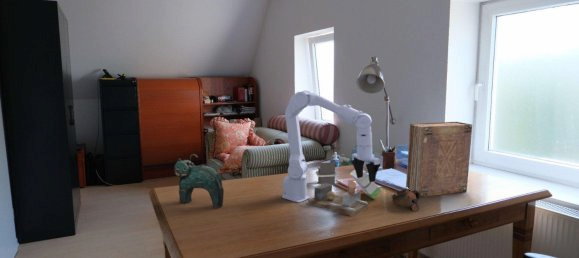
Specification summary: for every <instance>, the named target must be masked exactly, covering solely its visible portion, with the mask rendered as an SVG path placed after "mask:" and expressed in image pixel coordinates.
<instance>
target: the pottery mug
mask: <svg viewBox="0 0 579 258" xmlns="http://www.w3.org/2000/svg"><path fill="white" fill-rule="evenodd" d="M407 197H408V198H409V199H410V200H411V203H412V206H411V209H412V212H416V211H418V210H419V209H420V206H419V203H418V202H419V201H420V198H421V197H420V193H419V191H417V190H414V191H412V192H411V191H409V189H406V188H404V189H401V190H400V191H397V192H396V193H394V194H392V195H391V199H392V204H393V203H395V204H396V205H398V204H399V203H400V200H401V201H405V202H407V200H408V199H407Z"/></svg>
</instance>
